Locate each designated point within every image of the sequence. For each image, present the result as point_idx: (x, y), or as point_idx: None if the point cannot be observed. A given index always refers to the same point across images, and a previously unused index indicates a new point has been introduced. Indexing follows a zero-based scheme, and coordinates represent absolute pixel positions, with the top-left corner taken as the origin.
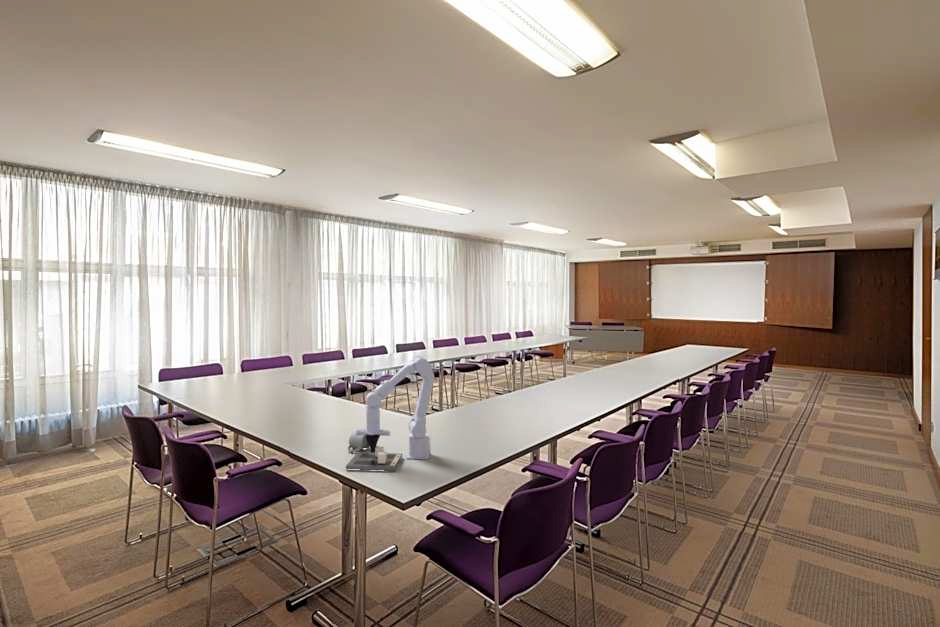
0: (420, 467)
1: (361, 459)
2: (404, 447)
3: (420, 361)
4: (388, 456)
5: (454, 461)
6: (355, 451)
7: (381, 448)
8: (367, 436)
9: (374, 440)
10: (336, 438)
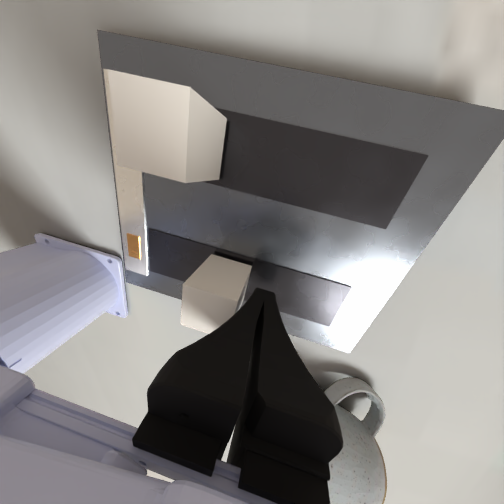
0: (25, 127)
1: (342, 246)
2: (161, 364)
3: None
4: (181, 257)
5: None
6: (348, 381)
7: (191, 283)
8: (313, 465)
9: (218, 352)
10: (391, 493)
